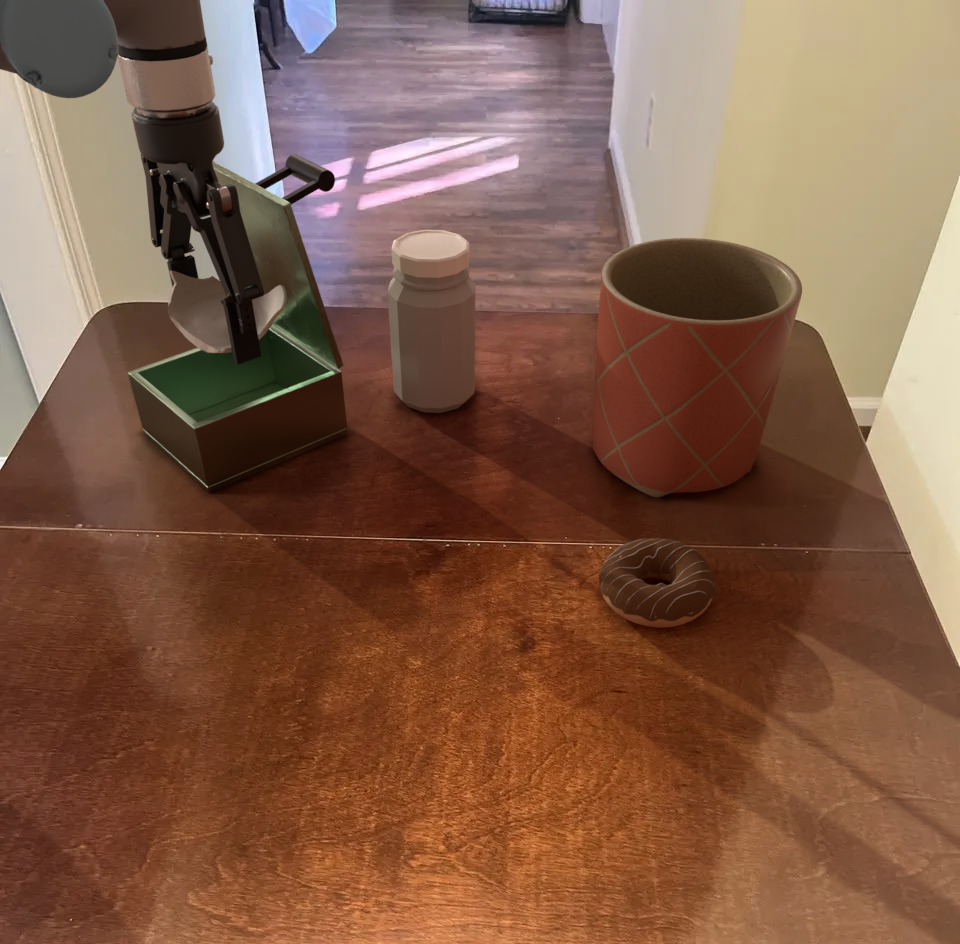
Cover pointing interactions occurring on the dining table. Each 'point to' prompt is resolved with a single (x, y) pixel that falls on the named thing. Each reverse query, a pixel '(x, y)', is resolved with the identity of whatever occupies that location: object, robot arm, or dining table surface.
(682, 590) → the donut
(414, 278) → the jar
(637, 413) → the planter
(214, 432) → the compartment
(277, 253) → the lid
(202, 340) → the pottery shard
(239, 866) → the dining table surface
